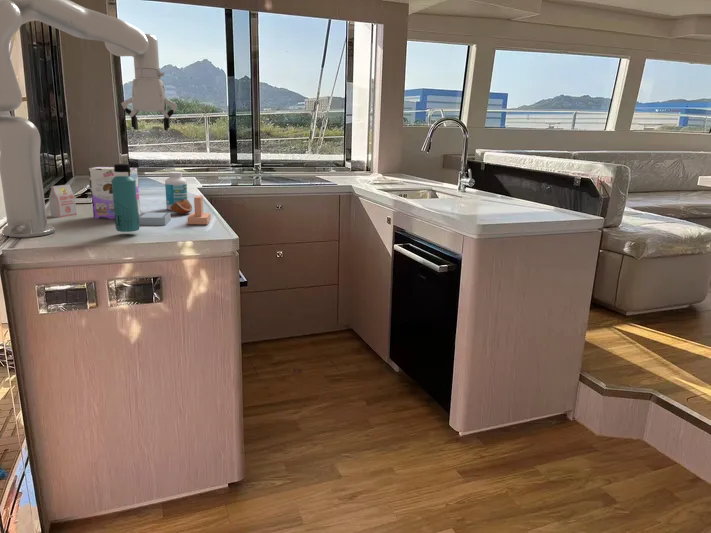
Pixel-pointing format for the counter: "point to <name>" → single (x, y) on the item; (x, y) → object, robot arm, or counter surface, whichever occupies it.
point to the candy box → (107, 190)
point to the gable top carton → (62, 201)
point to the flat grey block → (154, 218)
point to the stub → (198, 213)
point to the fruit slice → (182, 207)
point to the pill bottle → (175, 189)
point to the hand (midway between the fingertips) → (151, 130)
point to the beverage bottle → (125, 200)
